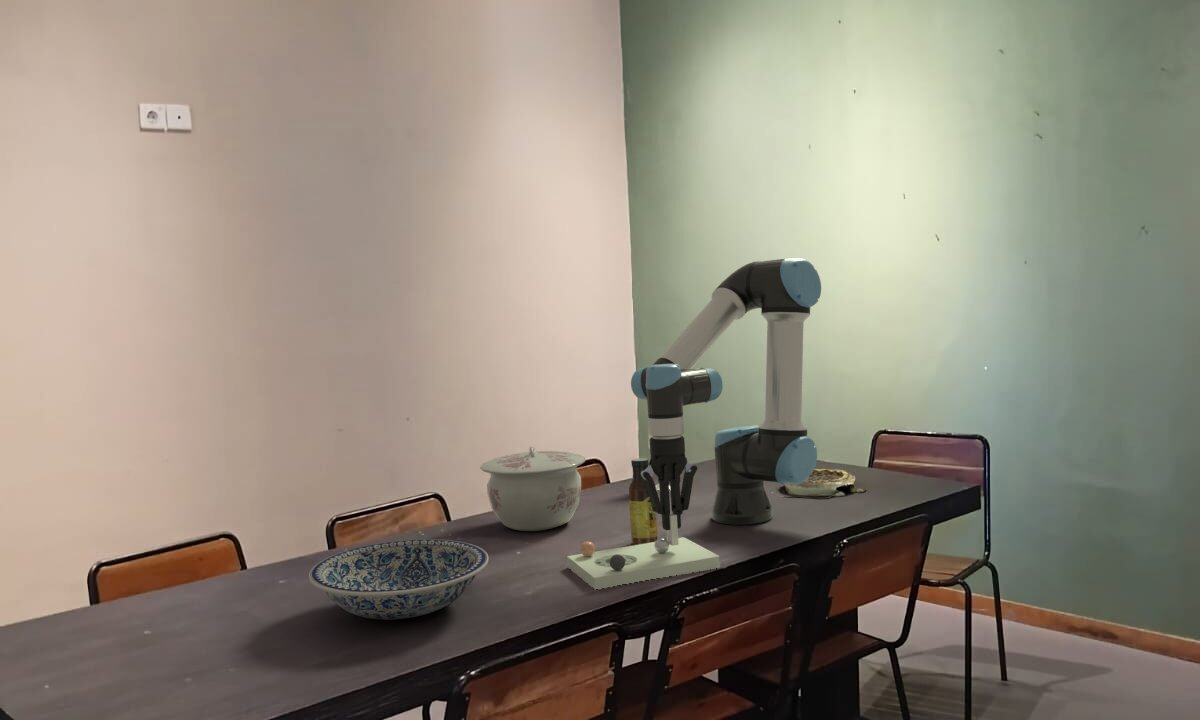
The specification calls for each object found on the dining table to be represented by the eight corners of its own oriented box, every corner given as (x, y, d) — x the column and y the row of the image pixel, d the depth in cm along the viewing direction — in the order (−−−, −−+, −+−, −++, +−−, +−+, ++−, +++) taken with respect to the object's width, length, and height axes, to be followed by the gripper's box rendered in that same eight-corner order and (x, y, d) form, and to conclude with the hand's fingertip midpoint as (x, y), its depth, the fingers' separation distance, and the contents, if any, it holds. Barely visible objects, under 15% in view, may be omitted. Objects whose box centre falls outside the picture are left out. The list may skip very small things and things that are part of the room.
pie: (751, 496, 267) (751, 478, 267) (791, 478, 289) (790, 462, 289) (848, 504, 251) (848, 485, 251) (882, 484, 273) (881, 467, 273)
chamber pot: (526, 545, 229) (520, 460, 227) (464, 528, 250) (457, 450, 248) (613, 521, 247) (607, 442, 246) (547, 507, 268) (542, 434, 266)
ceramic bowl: (407, 655, 163) (402, 598, 162) (274, 628, 181) (269, 577, 181) (526, 594, 192) (522, 545, 191) (401, 576, 210) (397, 531, 209)
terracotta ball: (592, 553, 209) (591, 538, 209) (597, 556, 206) (596, 542, 206) (578, 555, 208) (577, 541, 208) (583, 559, 205) (582, 544, 205)
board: (684, 547, 218) (683, 537, 217) (720, 567, 201) (719, 556, 200) (567, 567, 208) (567, 556, 208) (595, 590, 191) (594, 577, 191)
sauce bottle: (656, 546, 220) (650, 461, 219) (629, 546, 222) (624, 462, 220) (660, 539, 227) (655, 456, 225) (634, 539, 228) (629, 457, 226)
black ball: (622, 566, 198) (621, 551, 197) (627, 570, 195) (626, 555, 194) (607, 569, 196) (606, 554, 196) (613, 573, 193) (612, 557, 193)
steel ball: (661, 533, 207) (649, 541, 206) (667, 537, 204) (655, 545, 203) (667, 545, 208) (655, 553, 207) (674, 549, 205) (662, 557, 204)
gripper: (686, 430, 211) (692, 535, 212) (632, 437, 206) (638, 544, 208) (701, 434, 204) (707, 543, 205) (645, 441, 199) (651, 552, 201)
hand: (672, 543), depth 206 cm, fingers closed
